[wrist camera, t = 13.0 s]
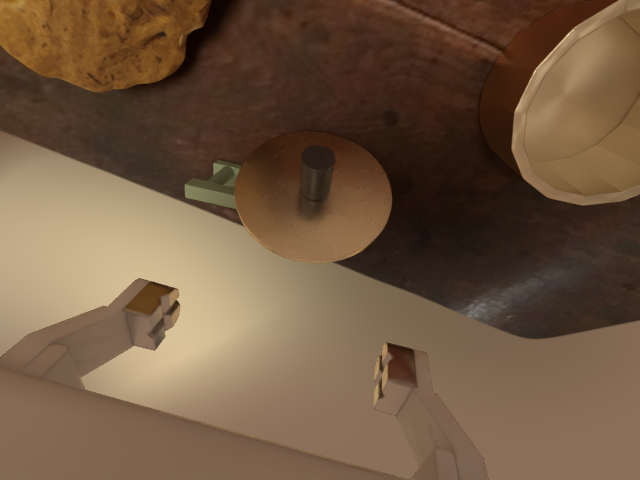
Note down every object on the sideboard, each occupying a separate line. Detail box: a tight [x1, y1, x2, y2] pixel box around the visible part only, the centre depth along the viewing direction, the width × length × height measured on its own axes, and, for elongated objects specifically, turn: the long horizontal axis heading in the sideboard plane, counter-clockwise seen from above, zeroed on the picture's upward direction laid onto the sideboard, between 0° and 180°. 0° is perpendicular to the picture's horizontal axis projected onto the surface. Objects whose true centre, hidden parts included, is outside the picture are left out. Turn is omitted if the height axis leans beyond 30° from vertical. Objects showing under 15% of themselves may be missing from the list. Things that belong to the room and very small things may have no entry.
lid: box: [234, 131, 392, 263], centre depth 24 cm, size 12×12×5 cm
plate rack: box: [185, 160, 242, 209], centre depth 29 cm, size 13×3×6 cm, turn 80°
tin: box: [479, 0, 640, 205], centre depth 21 cm, size 11×11×8 cm
